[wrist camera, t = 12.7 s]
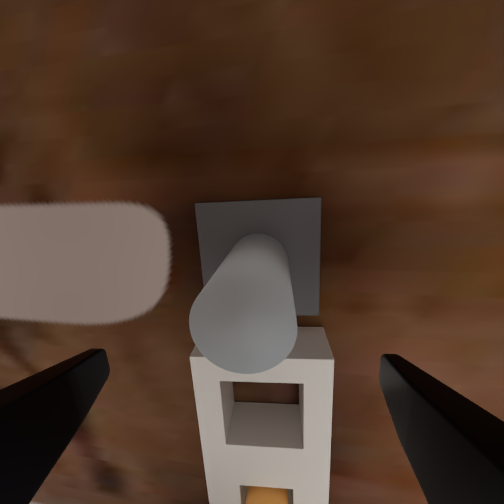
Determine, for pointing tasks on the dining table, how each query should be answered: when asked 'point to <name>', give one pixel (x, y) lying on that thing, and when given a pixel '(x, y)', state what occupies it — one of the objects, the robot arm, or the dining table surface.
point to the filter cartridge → (247, 308)
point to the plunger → (266, 495)
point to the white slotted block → (268, 426)
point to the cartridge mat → (273, 224)
